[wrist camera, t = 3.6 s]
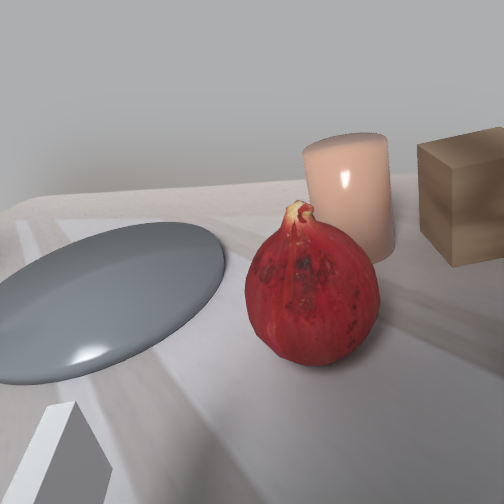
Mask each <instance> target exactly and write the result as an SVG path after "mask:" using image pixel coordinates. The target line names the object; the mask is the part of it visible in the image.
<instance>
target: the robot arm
mask: <svg viewBox="0 0 504 504" xmlns="http://www.w3.org/2000/svg"><path fill="white" fill-rule="evenodd" d="M111 473H112V467H111V465H110V463H109V461H108V459H107V458H106V456H105V454H104V452H103V450H102V448H101V447H100V445H99V443H98V441H97V439H96V437H95V435H94V434H93V432H92V430H91V428H90V426H89V424H88V423H87V421H86V419H85V417H84V415H83V413H82V412H81V410H80V408H79V406H78V404H77V402H76V401H72V402H66V403H61V404H56V405H51V406H47V409H46V411H45V413H44V415H43V417H42V419H41V421H40V423H39V425H38V427H37V430H36V432H35V434H34V436H33V438H32V440H31V442H30V444H29V446H28V448H27V450H26V453H25V455H24V457H23V459H22V461H21V463H20V465H19V467H18V469H17V471H16V474H15V476H14V478H13V480H12V482H11V484H10V486H9V488H8V490H7V492H6V494H5V497H4V499H3V501H2V503H1V504H103V503H104V499H105V495H106V491H107V488H108V484H109V480H110V476H111Z"/></svg>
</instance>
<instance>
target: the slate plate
mask: <svg viewBox="0 0 504 504" xmlns="http://www.w3.org/2000/svg"><path fill="white" fill-rule="evenodd" d="M224 268H225V263H224V256H223V253H222V249H221V246H220V243H219V241H218V239H217V238H216V237H215V236H214V234H212V233H211V232H210V231H208V230H206V229H204V228H202V227H199V226H196V225H193V224H187V223H179V222H156V223H146V224H138V225H133V226H127V227H123V228H118V229H114V230H110V231H107V232H103V233H100V234H97V235H94V236H91V237H88V238H85V239H82V240H79V241H77V242H74V243H72V244H69V245H67V246H65V247H62V248H60V249H58V250H56V251H53V252H51V253H49V254H47V255H45V256H43V257H41V258H39V259H38V260H36V261H34V262H32V263H30V264H29V265H27V266H25V267H24V268H22V269H20V270H19V271H17V272H16V273H14V274H13V275H11V276H10V277H8V278H7V279H6V280H4V281H3V282H2V283H0V383H2V384H12V385H36V384H44V383H51V382H58V381H62V380H67V379H71V378H75V377H80V376H83V375H86V374H89V373H92V372H95V371H98V370H101V369H104V368H106V367H109V366H111V365H114V364H116V363H119V362H121V361H124V360H126V359H128V358H130V357H132V356H134V355H136V354H138V353H140V352H142V351H144V350H146V349H148V348H149V347H151V346H153V345H155V344H156V343H158V342H160V341H161V340H163V339H164V338H166V337H167V336H169V335H170V334H172V333H173V332H175V331H176V330H178V329H179V328H180V327H181V326H183V325H184V324H185V323H186V322H188V321H189V320H190V319H191V318H193V317H194V316H195V315H196V314H197V313H198V312H199V311H200V310H201V309H202V308H203V307H204V306H205V305H206V303H207V302H208V301H209V300H210V298H211V297H212V296H213V295H214V293H215V291H216V290H217V288H218V286H219V285H220V282H221V280H222V277H223V274H224Z"/></svg>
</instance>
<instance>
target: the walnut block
mask: <svg viewBox="0 0 504 504" xmlns="http://www.w3.org/2000/svg"><path fill="white" fill-rule="evenodd" d="M417 158H418V183H419V209H420V231H421V232H422V233H423V234H424V236H425V237H426V238H427V239H428V240H429V241H430V242H431V244H432V245H433V246H434V247H435V248H436V249H437V250H438V252H439V253H440V254H441V255H442V256H443V257H444V258H445V259H446V261H447V262H448V263H449V264H450V265H451V266H452V267H457V266H462V265H467V264H472V263H477V262H483V261H488V260H493V259H498V258H503V257H504V128H502V127H496V128H492V129H487V130H482V131H478V132H473V133H468V134H464V135H459V136H455V137H450V138H445V139H440V140H436V141H431V142H427V143H422V144H417Z"/></svg>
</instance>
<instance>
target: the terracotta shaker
mask: <svg viewBox="0 0 504 504" xmlns="http://www.w3.org/2000/svg"><path fill="white" fill-rule="evenodd" d="M302 155H303V161H304V168H305V174H306V180H307V186H308V192H309V199H310V205H312V206H314V212H313V215H314V217H315V219H316V221H320V222H323V223H327V224H330V225H332V226H335V227H337V228H338V229H340V230H342V231H343V232H345V233H346V234H347V235H348V236H350V237H351V238H352V239H353V240H354V241H355V242H356V243H357V244H358V245H359V246H360V247H361V248H362V249H363V250H364V252H365V253H366V254H367V256H368V257H369V259H370V261H371V263H372V264H374V263H377V262H379V261H381V260H383V259H385V258H387V257H388V256H389V255H390V254H391V253H392V252H393V250H394V248H395V240H394V226H393V212H392V198H391V184H390V170H389V157H388V142H387V138H386V137H385V136H383V135H381V134H377V133H351V134H345V135H339V136H334V137H329V138H326V139H323V140H320V141H317V142H315V143H313V144H311V145H309V146H307V147H306V148H305V149H304V150H303V152H302Z"/></svg>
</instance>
